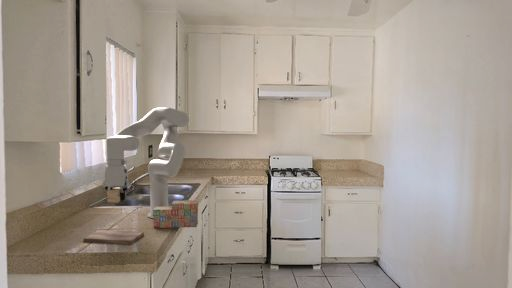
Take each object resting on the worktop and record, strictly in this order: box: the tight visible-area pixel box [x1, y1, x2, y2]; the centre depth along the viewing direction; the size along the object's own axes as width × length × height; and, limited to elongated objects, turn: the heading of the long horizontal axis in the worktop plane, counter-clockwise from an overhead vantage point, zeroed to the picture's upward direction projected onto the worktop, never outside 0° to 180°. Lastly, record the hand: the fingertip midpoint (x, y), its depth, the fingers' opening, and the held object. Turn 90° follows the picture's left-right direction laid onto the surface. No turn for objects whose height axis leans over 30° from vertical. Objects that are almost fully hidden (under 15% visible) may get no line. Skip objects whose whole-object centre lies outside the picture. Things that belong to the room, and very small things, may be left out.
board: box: [82, 229, 145, 245], centre depth 155 cm, size 12×22×2 cm, turn 82°
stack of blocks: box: [152, 199, 199, 229], centre depth 174 cm, size 21×6×12 cm, turn 93°
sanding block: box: [106, 187, 127, 205], centre depth 166 cm, size 8×5×6 cm, turn 172°
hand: (117, 199), depth 166 cm, fingers closed on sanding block, 5 cm apart
